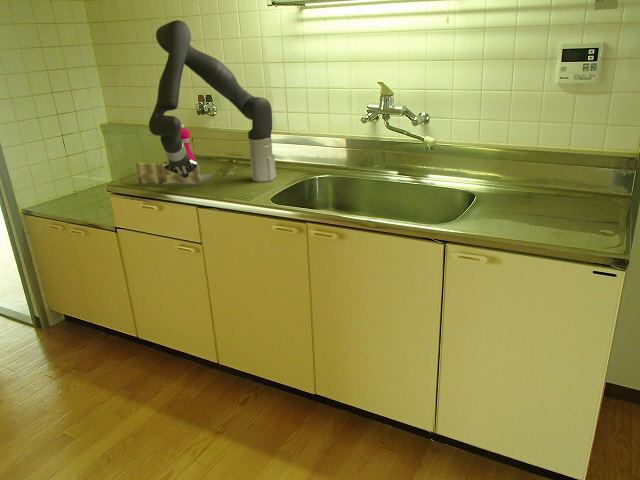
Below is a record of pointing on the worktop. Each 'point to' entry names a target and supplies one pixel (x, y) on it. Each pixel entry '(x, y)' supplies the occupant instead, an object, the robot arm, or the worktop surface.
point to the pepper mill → (186, 141)
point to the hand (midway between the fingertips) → (185, 176)
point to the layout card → (203, 177)
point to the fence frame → (149, 173)
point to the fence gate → (177, 178)
